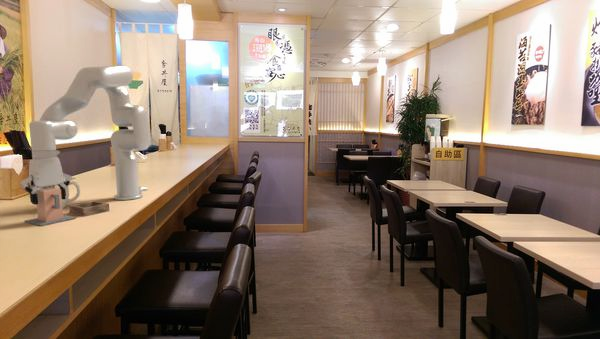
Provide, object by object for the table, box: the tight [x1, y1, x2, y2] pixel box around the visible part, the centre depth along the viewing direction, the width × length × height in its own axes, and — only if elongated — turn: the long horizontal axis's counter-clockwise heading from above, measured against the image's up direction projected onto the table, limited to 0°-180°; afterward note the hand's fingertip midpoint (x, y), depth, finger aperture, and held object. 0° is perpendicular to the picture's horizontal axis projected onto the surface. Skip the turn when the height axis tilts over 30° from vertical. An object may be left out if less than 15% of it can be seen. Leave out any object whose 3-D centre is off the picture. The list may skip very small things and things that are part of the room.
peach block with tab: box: [36, 188, 64, 222], centre depth 151 cm, size 6×9×11 cm, turn 58°
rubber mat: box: [24, 214, 77, 227], centre depth 152 cm, size 12×12×1 cm
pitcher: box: [38, 177, 81, 209], centre depth 171 cm, size 11×18×14 cm, turn 102°
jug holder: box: [68, 200, 110, 217], centre depth 165 cm, size 10×10×3 cm
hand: (49, 201), depth 151 cm, fingers open, 9 cm apart
